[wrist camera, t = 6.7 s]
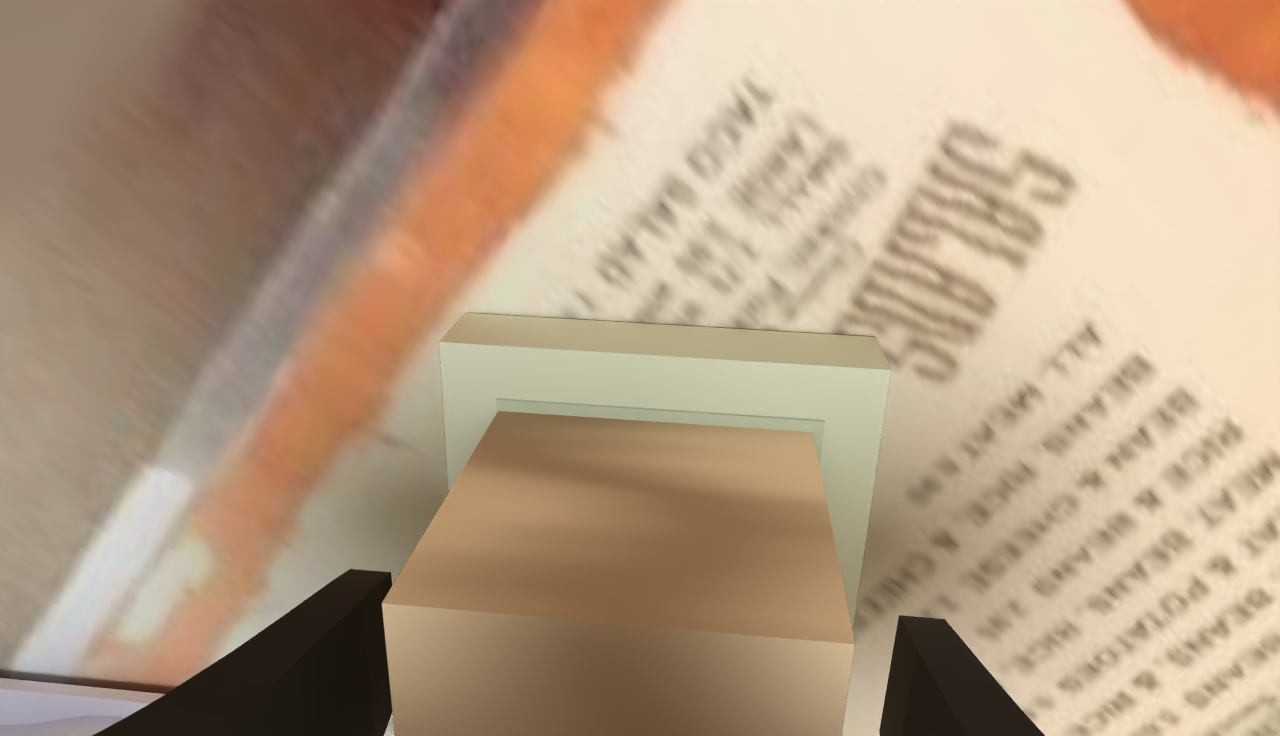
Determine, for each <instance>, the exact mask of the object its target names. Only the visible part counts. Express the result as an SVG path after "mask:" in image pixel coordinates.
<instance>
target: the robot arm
mask: <svg viewBox="0 0 1280 736" xmlns="http://www.w3.org/2000/svg"><path fill="white" fill-rule="evenodd" d="M391 587H392V579H391V573H390V572H378V571H366V570H354V569H350V570H348V571H347V572H345V573H344V574H342V575H341V576H339V577H338V578H336V579H335V580H333V581H332V582H330V583H329V584H327V585H326V586H325V587H323V588H322V589H320V590H319V591H318V592H316V593H315V594H313V595H312V596H311V597H309V598H308V599H306V600H305V601H304V602H302V603H301V604H299V605H298V606H297V607H295V608H294V609H292V610H291V611H290V612H288V613H287V614H285V615H284V616H283V617H281V618H280V619H278V620H277V621H275V622H274V623H273V624H271V625H270V626H268V627H267V628H265V629H264V630H263V631H261V632H260V633H258V634H257V635H255V636H254V637H253V638H251V639H250V640H248V641H247V642H245V643H244V644H243V645H241V646H240V647H238V648H237V649H235V650H234V651H232V652H231V653H229V654H228V655H226V656H225V657H223V658H222V659H220V660H218V661H217V662H215V663H214V664H212V665H211V666H209V667H207V668H206V669H204V670H203V671H201V672H200V673H198V674H197V675H195V676H193V677H192V678H190V679H189V680H187V681H186V682H184V683H182V684H181V685H179V686H178V687H176V688H175V689H173V690H172V691H170V692H168V693H167V694H159V693H149V692H139V691H129V690H119V689H108V688H98V687H88V686H78V685H68V684H57V683H47V682H37V681H27V680H17V679H6V678H0V736H384V733H385V730H386V728H387V725H388V722H389V720H390V717H391V714H392V701H391V691H390V681H389V671H388V661H387V651H386V641H385V631H384V621H383V611H382V602H383V600H384V599H385V597H386V595H387V594H388V592H389V590H390V589H391ZM880 736H1045V735H1044V734H1043V733H1042V732H1041V731H1040V730H1039V729H1038V728H1037V726H1036V725H1035V724H1034V723H1033V722H1032V721H1031V720H1030V719H1029V718H1028V716H1027V715H1026V714H1025V713H1024V712H1023V711H1022V710H1021V709H1020V708H1019V706H1018V705H1017V704H1016V703H1015V702H1014V701H1013V700H1012V698H1011V697H1010V696H1009V695H1008V694H1007V693H1006V692H1005V690H1004V689H1003V688H1002V687H1001V686H1000V684H999V683H998V682H997V681H996V680H995V679H994V677H993V676H992V675H991V674H990V673H989V672H988V670H987V669H986V668H985V667H984V666H983V664H982V663H981V662H980V661H979V660H978V658H977V657H976V656H975V655H974V654H973V652H972V651H971V650H970V649H969V648H968V646H967V645H966V644H965V643H964V642H963V640H962V639H961V638H960V637H959V636H958V634H957V633H956V632H955V631H954V630H953V629H952V627H951V626H950V625H949V624H948V623H947V622H946V620H945V619H935V618H923V617H912V616H900V615H899V619H898V625H897V631H896V637H895V643H894V649H893V655H892V660H891V666H890V672H889V678H888V684H887V690H886V696H885V702H884V707H883V713H882V719H881V725H880Z"/></svg>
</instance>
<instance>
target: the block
mask: <svg viewBox="0 0 1280 736" xmlns="http://www.w3.org/2000/svg"><path fill="white" fill-rule="evenodd" d="M382 611H383V621H384V631H385V641H386V651H387V661H388V671H389V681H390V691H391V701H392V711H393V721H394V731H395V736H841V735H842V728H843V722H844V715H845V708H846V702H847V695H848V688H849V681H850V675H851V668H852V661H853V654H854V648H855V642H854V637H853V632H852V627H851V622H850V617H849V612H848V607H847V602H846V597H845V592H844V587H843V582H842V577H841V572H840V567H839V562H838V557H837V552H836V547H835V542H834V537H833V532H832V527H831V522H830V517H829V512H828V507H827V502H826V497H825V492H824V487H823V482H822V477H821V472H820V467H819V462H818V457H817V452H816V447H815V442H814V437H813V432H801V431H787V430H772V429H757V428H742V427H727V426H713V425H698V424H683V423H668V422H653V421H639V420H624V419H609V418H594V417H579V416H565V415H550V414H535V413H520V412H505V411H498V412H497V414H496V415H495V417H494V419H493V420H492V422H491V424H490V425H489V427H488V429H487V430H486V432H485V434H484V435H483V437H482V439H481V440H480V442H479V444H478V445H477V447H476V448H475V450H474V452H473V453H472V455H471V457H470V458H469V460H468V462H467V463H466V465H465V467H464V468H463V470H462V472H461V473H460V475H459V477H458V478H457V480H456V481H455V483H454V485H453V486H452V488H451V490H450V491H449V493H448V495H447V496H446V498H445V500H444V501H443V503H442V505H441V506H440V508H439V510H438V511H437V513H436V515H435V516H434V518H433V519H432V521H431V523H430V524H429V526H428V528H427V529H426V531H425V533H424V534H423V536H422V538H421V539H420V541H419V543H418V544H417V546H416V548H415V549H414V551H413V552H412V554H411V556H410V557H409V559H408V561H407V562H406V564H405V566H404V567H403V569H402V571H401V572H400V574H399V576H398V577H397V579H396V581H395V582H394V584H393V586H392V587H391V589H390V590H389V592H388V594H387V595H386V597H385V599H384V600H383V602H382Z"/></svg>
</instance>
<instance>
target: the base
mask: <svg viewBox="0 0 1280 736" xmlns="http://www.w3.org/2000/svg"><path fill="white" fill-rule="evenodd" d="M439 348H440V364H441V380H442V397H443V413H444V430H445V446H446V462H447V479H448V493H449V491H450V490H451V488H452V486H453V485H454V483H455V481H456V480H457V478H458V477H459V475H460V473H461V472H462V470H463V468H464V467H465V465H466V463H467V462H468V460H469V458H470V457H471V455H472V453H473V452H474V450H475V448H476V447H477V445H478V444H479V442H480V440H481V439H482V437H483V435H484V434H485V432H486V430H487V429H488V427H489V425H490V424H491V422H492V420H493V419H494V417H495V415H496V414H497V412H498V411H505V412H520V413H535V414H550V415H565V416H579V417H594V418H609V419H624V420H639V421H653V422H668V423H683V424H698V425H713V426H727V427H742V428H757V429H772V430H787V431H801V432H813V437H814V442H815V447H816V452H817V457H818V462H819V467H820V472H821V477H822V482H823V487H824V492H825V497H826V502H827V507H828V512H829V517H830V522H831V527H832V532H833V537H834V542H835V547H836V552H837V557H838V562H839V567H840V572H841V577H842V582H843V587H844V592H845V597H846V602H847V607H848V612H849V617H850V622H851V627H852V632H853V626H854V619H855V612H856V606H857V599H858V592H859V585H860V578H861V572H862V565H863V558H864V551H865V544H866V538H867V531H868V524H869V517H870V510H871V504H872V497H873V490H874V483H875V477H876V470H877V463H878V456H879V449H880V443H881V436H882V429H883V422H884V415H885V409H886V402H887V395H888V388H889V381H890V375H891V369H890V366H889V364H888V362H887V360H886V358H885V356H884V354H883V351H882V349H881V347H880V345H879V343H878V341H877V338H876V337H867V336H850V335H833V334H816V333H799V332H783V331H766V330H749V329H732V328H715V327H698V326H681V325H664V324H647V323H630V322H613V321H596V320H579V319H563V318H546V317H529V316H512V315H495V314H478V313H466V314H465V315H464V316H463V317H462V318H461V319H460V320H459V321H458V322H457V323H456V324H455V325H454V327H453V328H452V329H451V330H450V331H449V332H448V333H447V334H446V335H445V336H444V337H443V338H442V339H441V341H440V342H439Z"/></svg>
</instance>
